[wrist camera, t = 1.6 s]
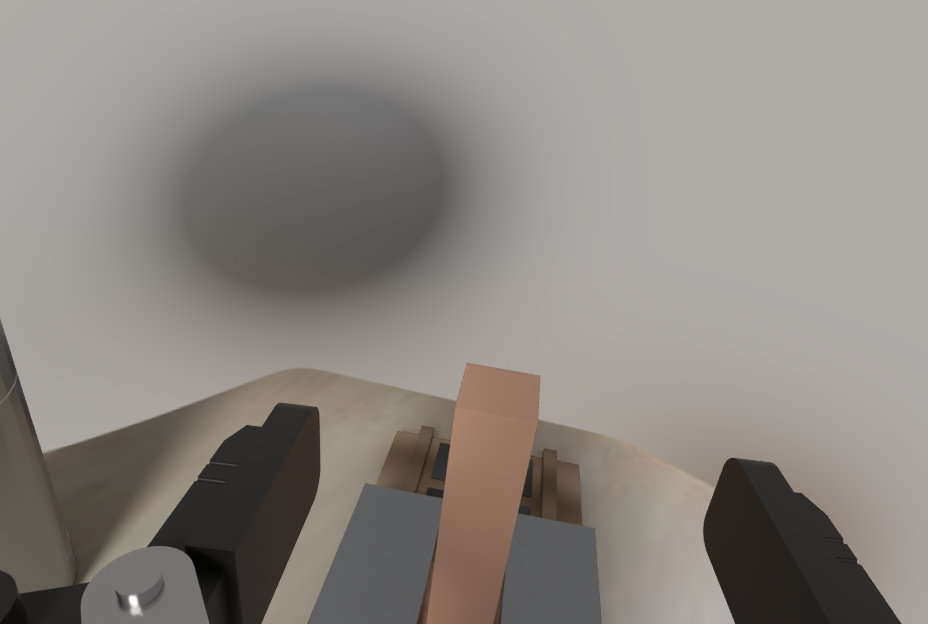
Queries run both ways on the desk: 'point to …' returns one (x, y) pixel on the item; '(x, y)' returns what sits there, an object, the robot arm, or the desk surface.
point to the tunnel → (411, 554)
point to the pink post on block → (481, 494)
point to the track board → (425, 467)
